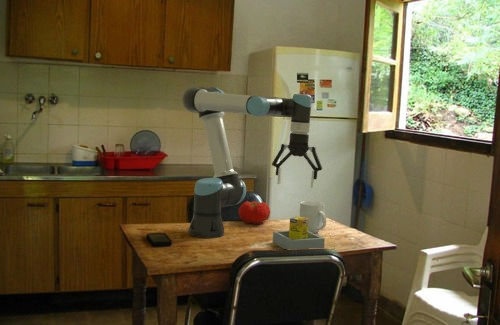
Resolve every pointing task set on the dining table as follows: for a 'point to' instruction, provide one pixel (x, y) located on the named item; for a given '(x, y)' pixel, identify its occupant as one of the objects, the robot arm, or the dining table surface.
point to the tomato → (254, 212)
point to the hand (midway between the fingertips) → (295, 185)
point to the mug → (313, 215)
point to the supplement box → (298, 228)
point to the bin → (297, 241)
